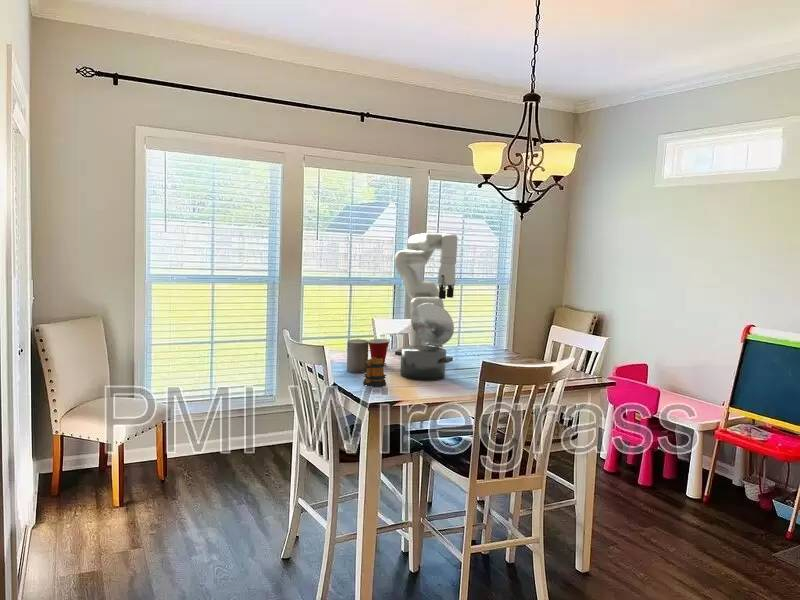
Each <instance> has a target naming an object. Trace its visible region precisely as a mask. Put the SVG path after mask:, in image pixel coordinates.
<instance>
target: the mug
mask: <svg viewBox="0 0 800 600" xmlns="http://www.w3.org/2000/svg"><path fill="white" fill-rule="evenodd" d="M386 364H387V363H385V362H384V363H383V359H382V358H381V359H376V358H374V357H372V358H371V357H370V358H368V360H367V361H366V364H365V365H366V366H367V372H365V373H363V374H364V376H363V378H364V380H363V382H362V384H363V386H365V385H367V386H366V387H368V386H372V387H371V388H382V387H383V386H384V387H386V386H387V382H386V379H387V377H386V376H387V374H385V371H384V367H386ZM384 387H383V388H384Z"/></svg>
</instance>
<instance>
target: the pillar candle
mask: <svg viewBox="0 0 800 600" xmlns="http://www.w3.org/2000/svg"><path fill="white" fill-rule="evenodd" d="M346 341H347V347H346V371H347V372H349V373H352V372H353V373H354V374H358V373H359V374H360V373H367V366H366V365H365V364H366V361H367V360H369V343H368V340H367V339H359V338H357V339H354V338H353V339H349V340H346Z"/></svg>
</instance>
